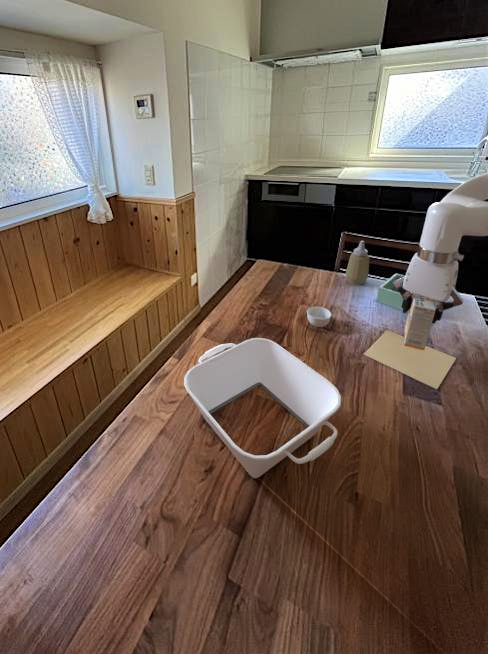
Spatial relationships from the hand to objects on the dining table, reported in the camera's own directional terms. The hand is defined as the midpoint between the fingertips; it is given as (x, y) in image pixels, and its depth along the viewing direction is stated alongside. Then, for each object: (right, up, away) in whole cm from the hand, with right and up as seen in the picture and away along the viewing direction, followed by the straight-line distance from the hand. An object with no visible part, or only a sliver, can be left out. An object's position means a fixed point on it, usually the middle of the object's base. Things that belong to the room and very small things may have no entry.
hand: (419, 315), depth 89 cm
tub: (-45, -24, -11) cm, 52 cm away
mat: (+1, -13, +6) cm, 15 cm away
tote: (+16, -1, +32) cm, 35 cm away
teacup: (-18, -7, +23) cm, 30 cm away
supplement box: (+1, -7, +3) cm, 8 cm away
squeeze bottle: (+6, +5, +46) cm, 46 cm away
